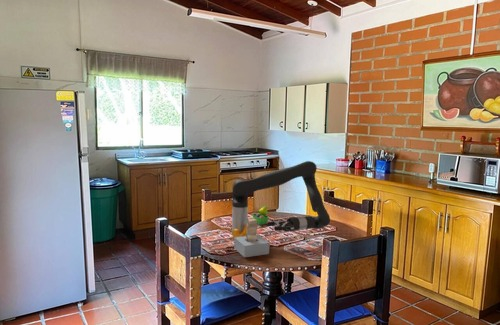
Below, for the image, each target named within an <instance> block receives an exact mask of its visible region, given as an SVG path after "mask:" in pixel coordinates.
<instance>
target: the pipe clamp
mask: <svg viewBox="0 0 500 325" xmlns="http://www.w3.org/2000/svg"><path fill="white" fill-rule="evenodd" d="M246 235H247V225H246V226H244V230H243V232H242V233H241V234H239V230H238V229H233V234H232V241H234V237H243V236H246Z"/></svg>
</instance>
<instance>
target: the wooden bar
mask: <svg viewBox="0 0 500 325" xmlns="http://www.w3.org/2000/svg"><path fill="white" fill-rule="evenodd" d="M257 226H258V223H257V220H256V219H253V218H247V235H246V241H247V242H254V241H256V237H257V235H258V234H257V232H258V231H257V230H258V227H257Z"/></svg>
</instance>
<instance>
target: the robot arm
mask: <svg viewBox="0 0 500 325" xmlns="http://www.w3.org/2000/svg"><path fill="white" fill-rule="evenodd" d="M316 173H317V164H316V163H315V162H313V161H311V160H310V161H309V160H307V161H303V162H301V163H298V164H296V165H292V166H289V167H285V168H281V169H277V170H276V169H275V170H273V171H269V172H267V173H264V174H261V175H259V176H258V177H255V178H253V179H246V180H244V179H243V178H240V179H236V180H234V182H233V184H232V196H231V197H232V198H231V199H232V200H231V202H232V210H231V211H232V212H231V214H232V215H231V216H232V217H231V222H232V223H231V234H232V235H233V229H238V230H239V234H241V233H242V232H243V230H244V226H246V225H247V219H248V215H249V214H248V210H249V209H248V208H249V207H248V206H249V205H248V204H249V200H248V195H249V194H251V193H254V192H257V191H260V190H266V189H270V188H275V187H277V186H278V187H279V186H282V185H285V184H286V183H288V182H290V181H292V180H294V179H298V178H301V177H302V179H303V182H304V184H305V187H306V191H307V194H308V197H309V198H308V199H309V201H310V202H309V203H310V206H311V210H312V212H315V213H317V216H310V215H308V216H293V217H292V216H291V217H288V218H287V219H286V220H285V219H282V218H281V219H273V220H272V221H267V224H266V226H267V227H274V228H273V230H274V231H276V232H277V231H278V232H279V231H281V232H296V231H297V232H298V231H304V230H311V229H313V230H314V229H317V230H318V229H323V228H325V227H327V226H329V225H330V223H331V217H330V215H329V213H328V211H327V209H326V208H325V205H324V202H323V198H322V195H321V192H320V190H319V189H318V185H317V182H316Z"/></svg>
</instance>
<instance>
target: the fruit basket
mask: <svg viewBox="0 0 500 325" xmlns="http://www.w3.org/2000/svg"><path fill="white" fill-rule="evenodd" d="M267 214H268V207H267V206H266V205H263V206H262V207H261V208H260V209H259V210H258V212H257V213H252V219H256V220H257V225H260V226H261V225H262V226H263V225H267V222H268V220H269V216H268V215H267Z"/></svg>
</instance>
